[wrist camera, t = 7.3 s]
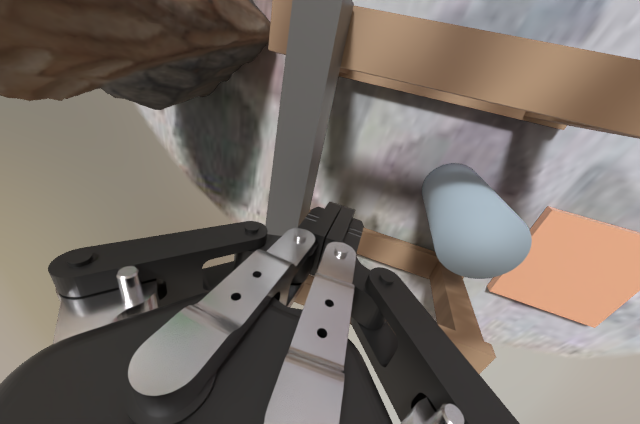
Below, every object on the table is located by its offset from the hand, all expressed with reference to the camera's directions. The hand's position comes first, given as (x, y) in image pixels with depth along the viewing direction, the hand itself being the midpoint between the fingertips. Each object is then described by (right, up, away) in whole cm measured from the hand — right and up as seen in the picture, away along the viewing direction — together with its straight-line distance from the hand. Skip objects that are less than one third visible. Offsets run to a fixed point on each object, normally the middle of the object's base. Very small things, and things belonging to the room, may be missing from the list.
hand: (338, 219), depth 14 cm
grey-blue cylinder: (+11, +3, +10) cm, 15 cm away
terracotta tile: (+23, -5, +9) cm, 25 cm away
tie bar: (-2, +2, +2) cm, 3 cm away
